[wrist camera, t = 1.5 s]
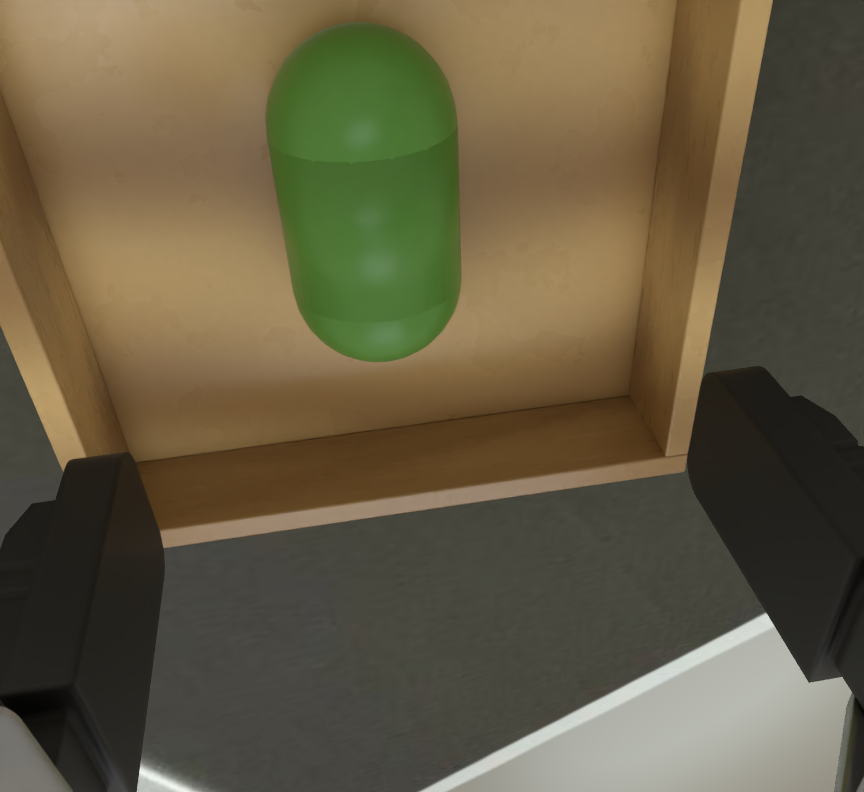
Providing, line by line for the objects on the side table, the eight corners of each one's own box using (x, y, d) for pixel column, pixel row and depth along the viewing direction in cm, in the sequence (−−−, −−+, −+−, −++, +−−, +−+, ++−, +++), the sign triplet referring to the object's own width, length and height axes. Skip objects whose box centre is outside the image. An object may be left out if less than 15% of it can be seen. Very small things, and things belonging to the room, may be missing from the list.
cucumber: (250, 10, 17) (247, 62, 14) (436, -6, 18) (472, 41, 15) (301, 316, 22) (307, 406, 19) (448, 298, 22) (478, 383, 19)
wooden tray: (-157, -270, 14) (-263, -282, 12) (736, -314, 16) (837, -335, 13) (118, 469, 25) (99, 558, 22) (640, 398, 26) (685, 472, 24)
